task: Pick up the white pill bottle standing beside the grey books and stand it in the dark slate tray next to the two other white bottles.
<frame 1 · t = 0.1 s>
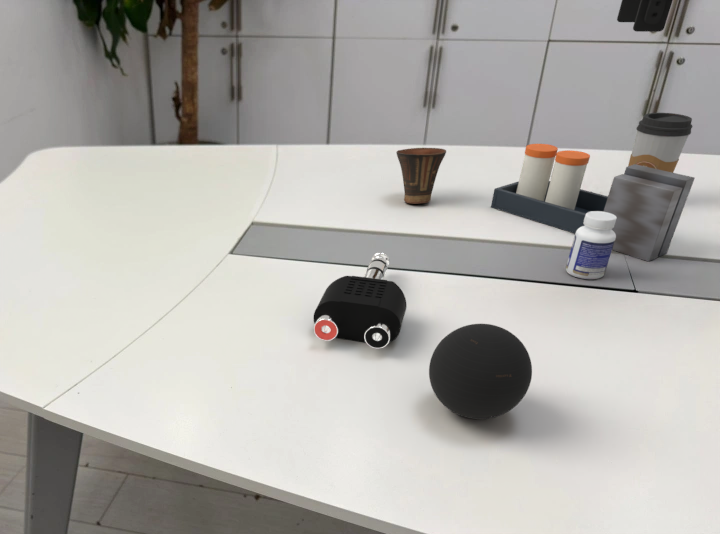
hand: (638, 26, 84), 33 cm above the table, tool pointing down, fingers open, 9 cm apart
pill bottle: (583, 274, 101), on the table
audio adapter: (366, 309, 94), on the table
tray: (562, 216, 121), on the table
coffee cup: (639, 202, 126), on the table
white bottles: (549, 179, 120), in the tray, point 6 cm above the table
speaker: (469, 411, 73), on the table
cup: (414, 201, 130), on the table
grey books: (629, 248, 108), on the table
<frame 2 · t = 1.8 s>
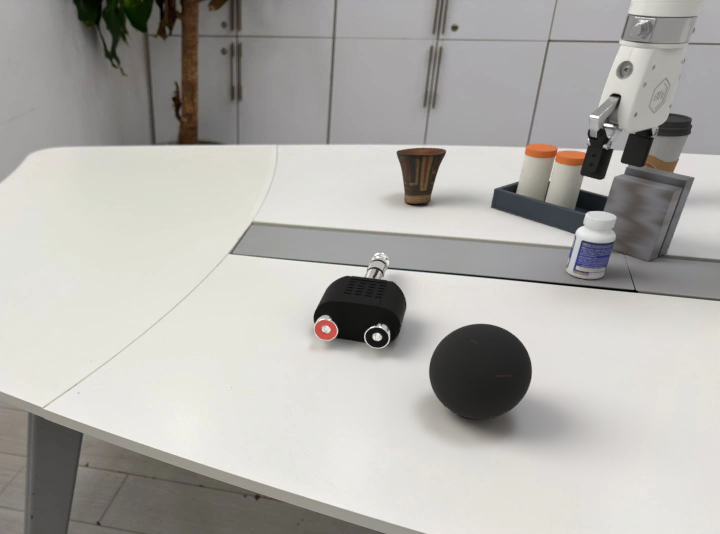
hand: (612, 170, 93), 15 cm above the table, tool pointing down, fingers open, 9 cm apart
nothing on the table moved.
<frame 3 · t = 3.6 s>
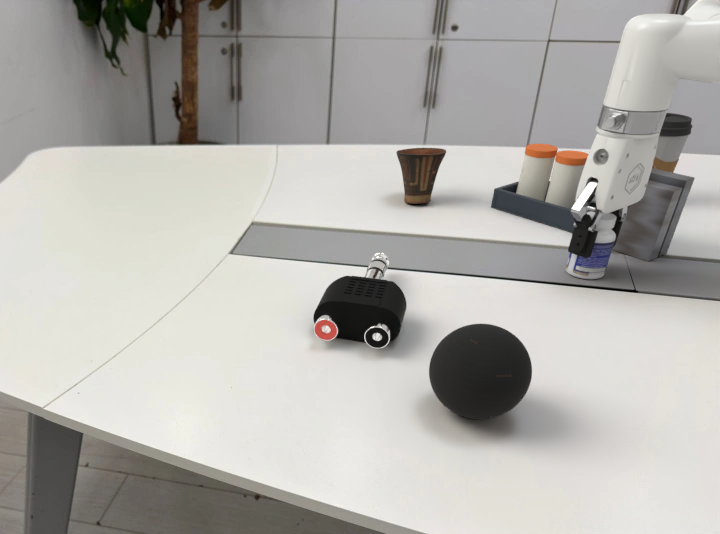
hand: (591, 248, 99), 4 cm above the table, tool pointing down, fingers closed on pill bottle, 5 cm apart
pill bottle: (583, 274, 101), on the table, touching gripper
everything else where it was.
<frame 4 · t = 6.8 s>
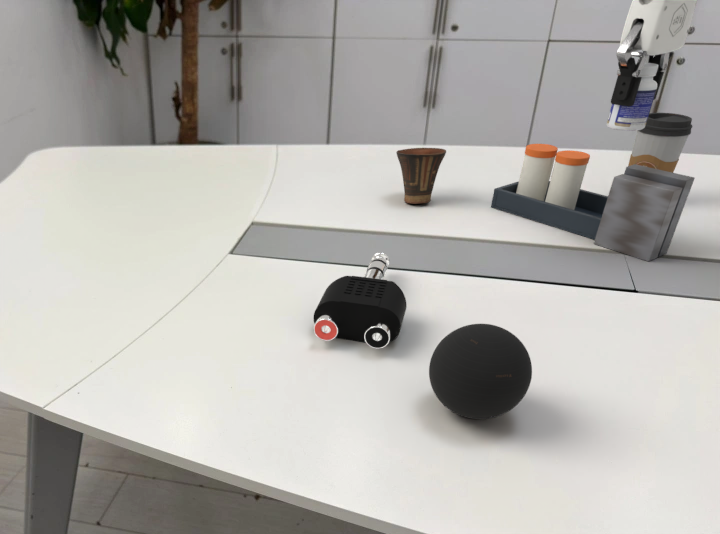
hand: (633, 100, 102), 21 cm above the table, tool pointing down, fingers closed on pill bottle, 5 cm apart
pill bottle: (624, 128, 104), point 17 cm above the table, touching gripper
everything else where it was.
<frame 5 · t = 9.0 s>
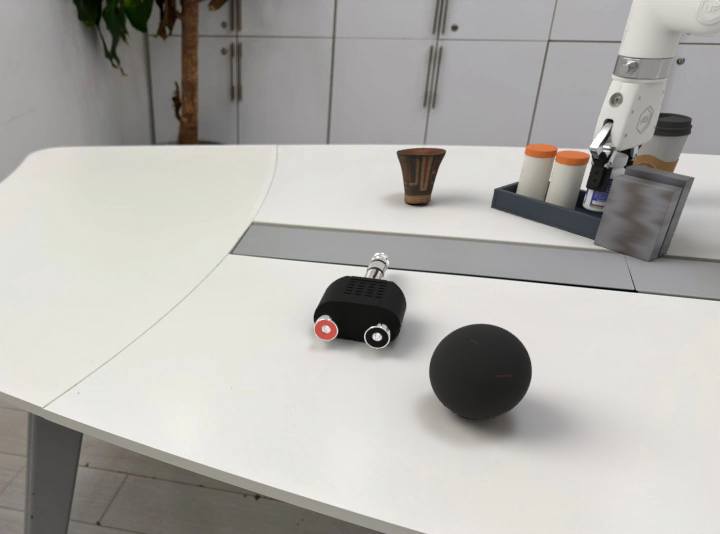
hand: (606, 185, 112), 7 cm above the table, tool pointing down, fingers closed on pill bottle, 5 cm apart
pill bottle: (598, 209, 115), point 3 cm above the table, touching gripper
everything else where it was.
when the fingers open (4 cm above the table, at t = 10.3 s): pill bottle stays where it is, resting on tray.
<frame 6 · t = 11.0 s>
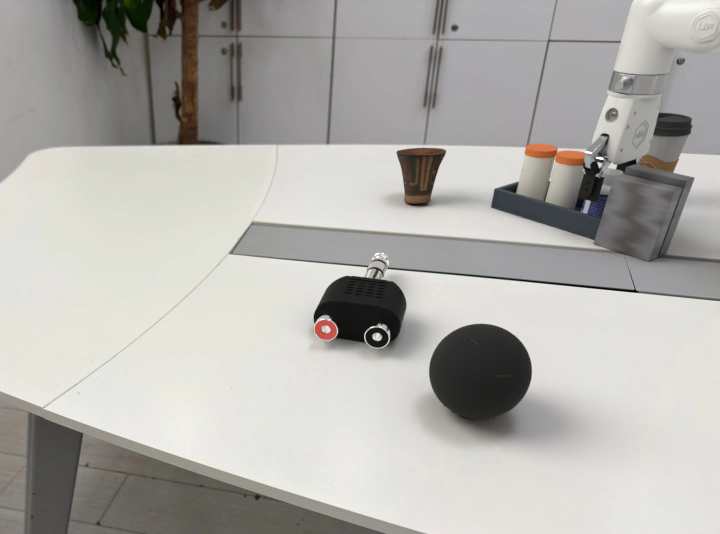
hand: (604, 193, 113), 6 cm above the table, tool pointing down, fingers open, 9 cm apart
pill bottle: (594, 224, 116), resting on tray
everything else where it was.
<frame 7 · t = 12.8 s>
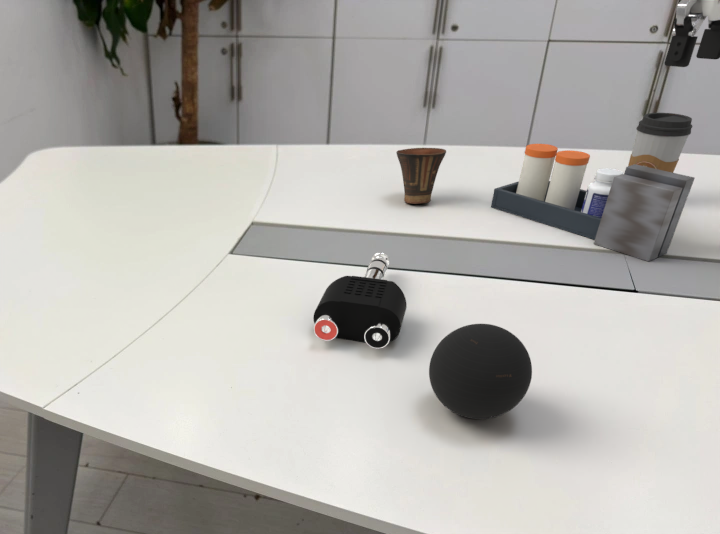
hand: (692, 62, 102), 26 cm above the table, tool pointing down, fingers open, 9 cm apart
nothing on the table moved.
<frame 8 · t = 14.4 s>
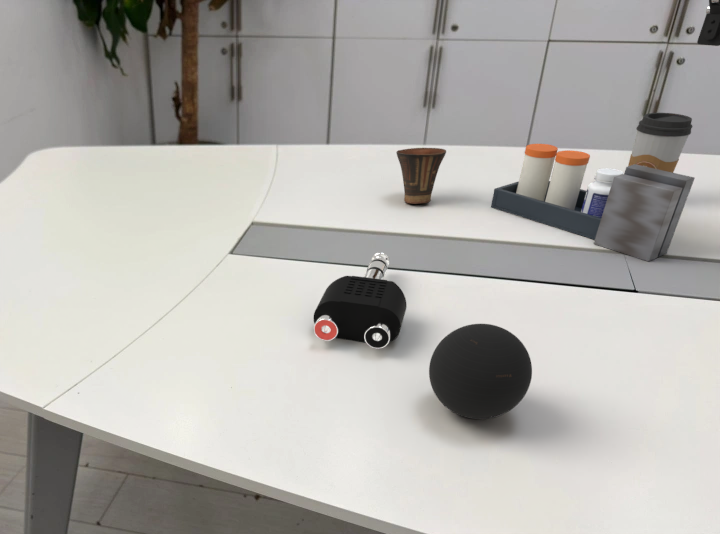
nothing on the table moved.
at the end: pill bottle inside the target area in the tray (0.0 cm from its centre), point 0.3 cm above the tray's base; pill bottle tilted 0°; the gripper is holding nothing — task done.
